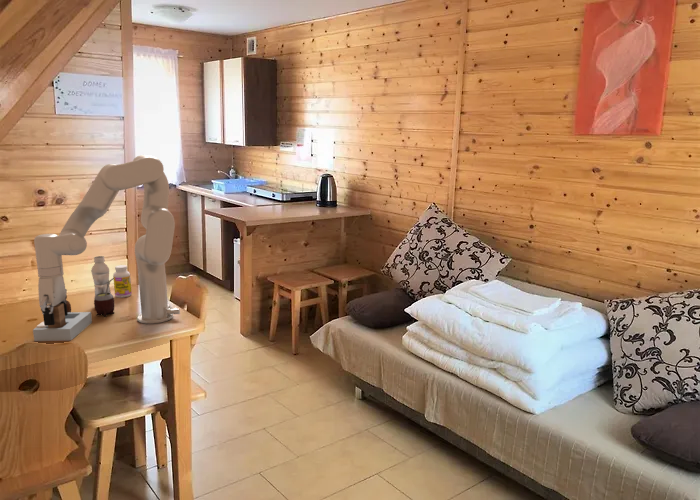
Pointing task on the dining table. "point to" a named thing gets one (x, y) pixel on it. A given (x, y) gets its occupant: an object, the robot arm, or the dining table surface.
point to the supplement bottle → (122, 281)
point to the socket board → (64, 328)
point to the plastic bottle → (100, 275)
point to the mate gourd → (104, 302)
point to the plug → (58, 316)
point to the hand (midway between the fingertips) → (56, 320)
